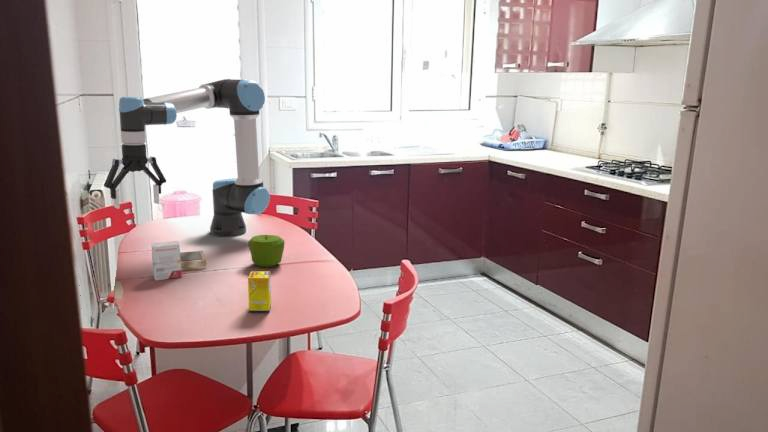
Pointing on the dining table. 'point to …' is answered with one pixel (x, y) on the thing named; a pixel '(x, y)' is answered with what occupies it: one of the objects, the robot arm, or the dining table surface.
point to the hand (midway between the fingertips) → (137, 205)
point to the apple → (266, 250)
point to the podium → (192, 260)
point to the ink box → (166, 260)
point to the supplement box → (259, 291)
